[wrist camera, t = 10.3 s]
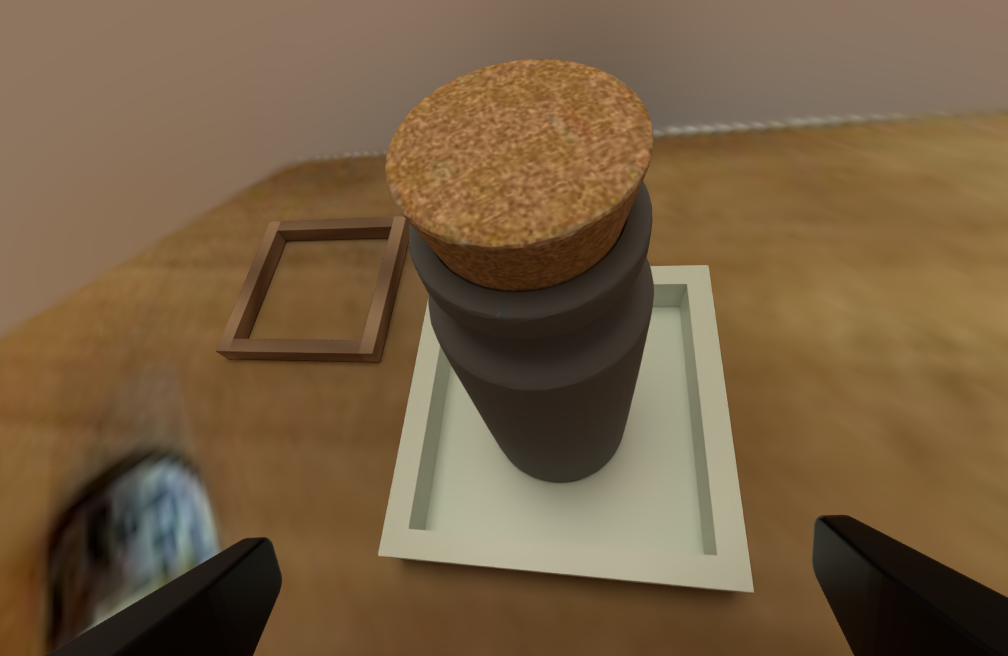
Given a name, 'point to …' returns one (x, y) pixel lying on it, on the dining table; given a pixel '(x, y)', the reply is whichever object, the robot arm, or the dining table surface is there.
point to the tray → (599, 497)
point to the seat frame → (364, 350)
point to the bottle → (534, 251)
